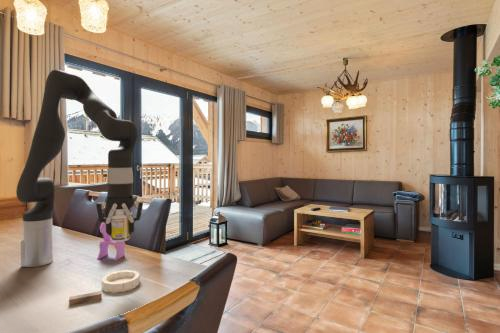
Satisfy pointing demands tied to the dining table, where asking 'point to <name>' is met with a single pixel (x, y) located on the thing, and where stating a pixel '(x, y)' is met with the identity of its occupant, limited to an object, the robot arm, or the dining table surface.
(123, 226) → the supplement bottle
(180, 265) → the dining table surface
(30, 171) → the robot arm
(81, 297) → the walnut stick
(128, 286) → the jar dish
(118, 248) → the toy chair
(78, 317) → the dining table surface
